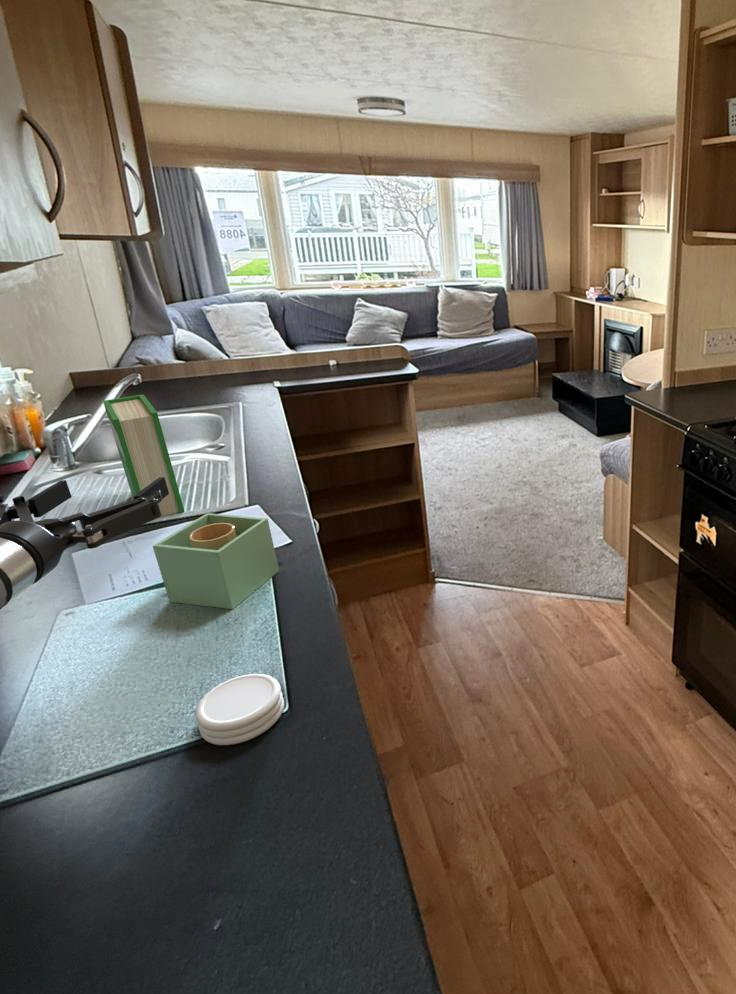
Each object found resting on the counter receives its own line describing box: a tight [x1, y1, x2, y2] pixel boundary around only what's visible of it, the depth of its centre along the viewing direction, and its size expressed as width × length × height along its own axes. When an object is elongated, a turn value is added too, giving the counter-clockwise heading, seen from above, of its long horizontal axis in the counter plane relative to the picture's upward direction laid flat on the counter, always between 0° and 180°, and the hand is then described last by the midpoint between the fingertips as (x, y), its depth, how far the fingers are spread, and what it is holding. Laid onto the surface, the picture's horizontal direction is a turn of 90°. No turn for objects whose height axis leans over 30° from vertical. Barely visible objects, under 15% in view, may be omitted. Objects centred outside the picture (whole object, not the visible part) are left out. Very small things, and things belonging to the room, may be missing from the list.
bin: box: [152, 512, 280, 610], centre depth 114 cm, size 12×12×11 cm
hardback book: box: [102, 394, 186, 518], centre depth 141 cm, size 18×7×24 cm, turn 41°
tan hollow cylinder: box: [189, 523, 237, 550], centre depth 114 cm, size 7×7×10 cm
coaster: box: [195, 673, 285, 746], centre depth 86 cm, size 10×10×4 cm
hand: (115, 487), depth 95 cm, fingers open, 13 cm apart
